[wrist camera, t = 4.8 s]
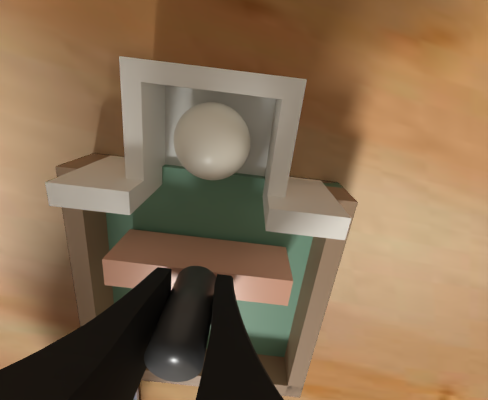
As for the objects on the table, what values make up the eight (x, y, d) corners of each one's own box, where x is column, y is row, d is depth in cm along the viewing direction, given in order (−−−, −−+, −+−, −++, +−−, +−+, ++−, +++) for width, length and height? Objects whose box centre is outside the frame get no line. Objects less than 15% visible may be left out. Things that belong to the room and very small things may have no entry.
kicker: (280, 272, 16) (300, 395, 9) (131, 254, 16) (44, 367, 9) (286, 243, 15) (312, 355, 8) (129, 225, 15) (34, 324, 8)
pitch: (293, 355, 20) (305, 433, 15) (110, 335, 20) (67, 408, 15) (361, 92, 13) (421, 89, 9) (83, 57, 13) (-12, 36, 8)
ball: (251, 133, 14) (244, 194, 13) (187, 125, 14) (175, 185, 13) (257, 89, 11) (248, 166, 10) (173, 79, 11) (156, 155, 10)
